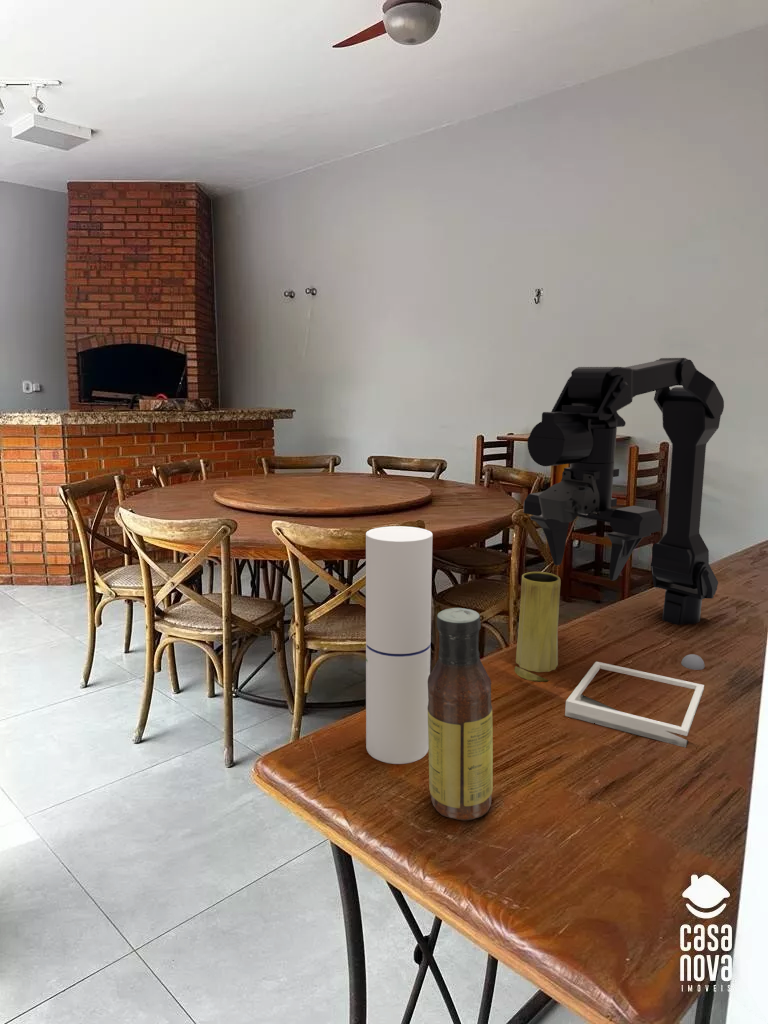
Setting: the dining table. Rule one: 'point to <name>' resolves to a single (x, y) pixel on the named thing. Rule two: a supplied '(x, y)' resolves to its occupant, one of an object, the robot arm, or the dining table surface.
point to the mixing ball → (693, 662)
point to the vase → (538, 625)
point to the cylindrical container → (398, 642)
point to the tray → (616, 719)
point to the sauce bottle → (460, 720)
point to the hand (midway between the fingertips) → (584, 572)
